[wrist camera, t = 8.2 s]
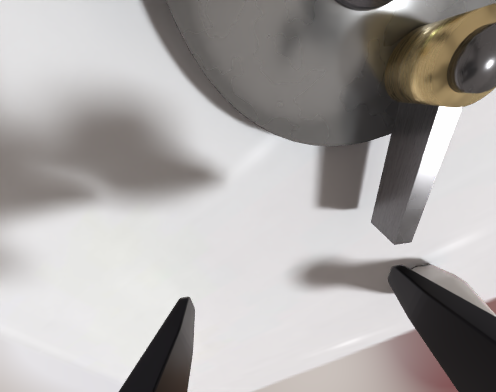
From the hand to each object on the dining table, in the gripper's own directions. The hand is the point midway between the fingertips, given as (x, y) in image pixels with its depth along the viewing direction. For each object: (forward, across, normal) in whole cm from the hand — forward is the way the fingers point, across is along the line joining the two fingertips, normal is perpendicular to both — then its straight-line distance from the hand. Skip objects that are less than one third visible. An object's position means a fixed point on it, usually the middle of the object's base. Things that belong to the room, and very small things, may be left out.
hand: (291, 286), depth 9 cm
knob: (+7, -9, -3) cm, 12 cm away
